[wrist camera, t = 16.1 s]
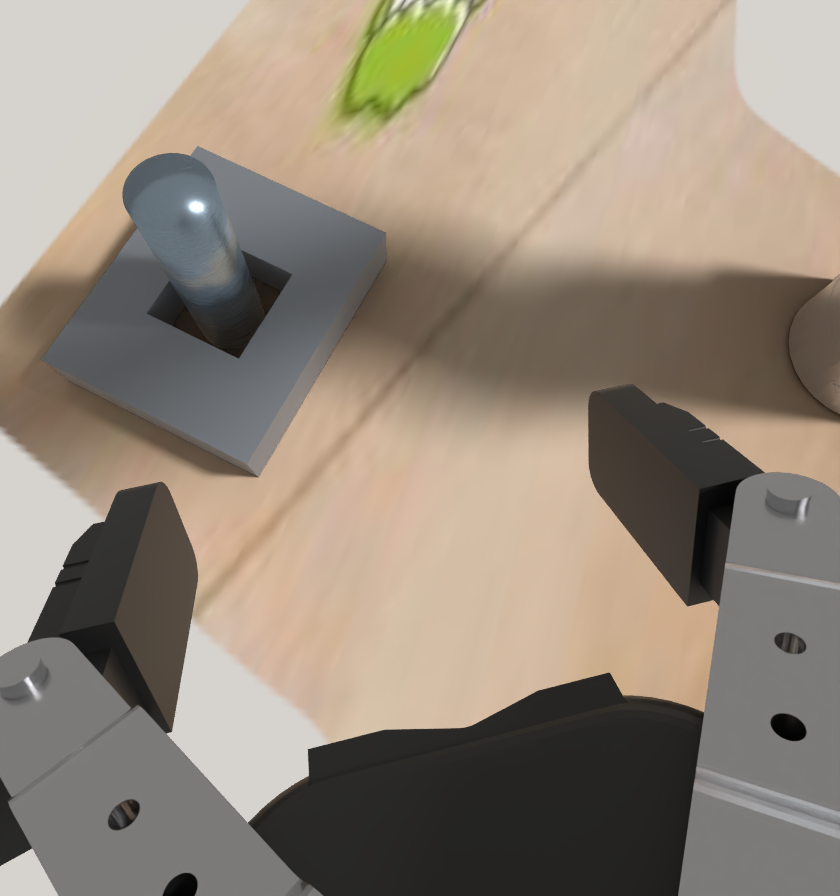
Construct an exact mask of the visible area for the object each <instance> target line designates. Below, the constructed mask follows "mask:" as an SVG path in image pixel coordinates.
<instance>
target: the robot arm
mask: <svg viewBox="0 0 840 896" xmlns="http://www.w3.org/2000/svg"><path fill="white" fill-rule="evenodd" d="M789 350H790V357H791V360H792V363H793V366H794V369H795V371H796V373H797V375H798V376H799V378H800V380H801V382H802V383H803V385H804V386H805V387H806V388H807V389H808V391H809V392H810V393H811V394H812V395H813V397H815V398H816V399H817V400H818V401H820V402H821V403H822V404H823V405H824V406H826V407H827V408H829V409H831V410H832V411H834V412H836V413H838V414H839V415H840V274H839V275H838V276H836V277H835V278H834V279H833V281H832V282H831V283H830V284H829V285H827V286H826V287H825V288H824V289H823V290H821V291H820V292H819V293H818V294H816V295H815V296H814V297H813V298H811V299H810V300H809V301H808V302H807V303H805V304H804V305H803V306H802V307H801V308H800V310H799V311H798V313H797V314H796V315H795V317H794V320H793V322H792V325H791V328H790V334H789ZM588 429H589V469H590V474H591V478H592V481H593V484H594V486H595V488H596V490H597V492H598V493H599V495H600V496H601V497H602V498H603V500H604V501H605V502H606V504H607V505H608V506H609V507H610V509H611V510H612V511H613V512H614V514H615V515H616V516H617V518H618V519H619V520H620V521H621V523H622V524H623V525H624V526H625V528H626V529H627V530H628V532H629V533H630V534H631V535H632V537H633V538H634V539H635V540H636V542H637V543H638V544H639V546H640V547H641V548H642V549H643V551H644V552H645V553H646V554H647V556H648V557H649V558H650V560H651V561H652V562H653V563H654V565H655V566H656V567H657V568H658V570H659V571H660V572H661V573H662V575H663V576H664V577H665V579H666V580H667V581H668V582H669V584H670V585H671V586H672V587H673V589H674V590H675V591H676V593H677V594H678V595H679V596H680V598H681V599H682V600H683V601H684V603H685V604H686V605H687V606H691V605H695V604H699V603H703V602H707V601H711V600H714V601H715V602H716V603H717V604H718V606H719V612H718V619H717V626H716V633H715V640H714V647H713V654H712V661H711V669H710V676H709V683H708V690H707V697H706V704H705V711H704V712H702V711H699V710H697V709H694V708H692V707H689V706H686V705H682V704H679V703H675V702H672V701H668V700H663V699H657V698H652V697H643V696H623V695H622V693H621V692H620V690H619V688H618V686H617V685H616V683H615V681H614V679H613V677H612V676H611V674H610V673H606V674H602V675H598V676H594V677H590V678H586V679H582V680H578V681H574V682H571V683H567V684H563V685H559V686H555V687H551V688H547V689H543V690H539V691H537V692H535V693H533V694H531V695H529V696H527V697H525V698H523V699H522V700H520V701H518V702H516V703H514V704H512V705H510V706H508V707H507V708H505V709H503V710H501V711H499V712H497V713H495V714H493V715H491V716H490V717H488V718H486V719H484V720H482V721H480V722H478V723H476V724H474V725H472V726H469V727H466V728H451V729H401V730H382V731H378V732H374V733H370V734H366V735H362V736H358V737H355V738H351V739H347V740H343V741H339V742H335V743H331V744H327V745H323V746H319V747H316V748H312V749H308V761H309V776H308V777H306V778H304V779H302V780H301V781H299V782H297V783H295V784H294V785H292V786H291V787H289V788H288V789H287V790H285V791H283V792H282V793H280V794H279V795H278V796H277V797H275V798H274V799H273V800H272V801H271V802H270V803H268V804H267V805H266V806H265V807H264V808H262V809H261V810H260V811H259V813H257V815H255V817H253V818H252V819H251V820H250V821H249V822H248V823H247V822H246V821H245V819H244V818H243V817H242V816H241V815H240V814H239V813H238V812H237V811H236V810H235V808H234V807H233V806H232V805H231V804H230V803H229V802H228V801H227V800H226V799H225V798H224V796H222V794H221V793H220V792H219V791H218V790H217V789H216V788H215V787H214V786H213V785H212V783H211V782H210V781H209V780H208V779H207V778H206V777H205V776H204V775H203V774H202V773H201V772H200V770H199V769H198V768H197V767H196V766H195V765H194V764H193V763H192V762H191V761H190V759H189V758H188V757H187V756H186V755H185V754H184V753H183V752H182V751H181V749H180V748H179V747H178V746H177V745H176V744H175V743H174V742H173V741H172V740H171V739H170V737H169V736H168V735H167V734H166V733H169V732H172V728H173V722H174V717H175V711H176V705H177V699H178V693H179V688H180V682H181V675H182V670H183V664H184V658H185V653H186V647H187V641H188V635H189V629H190V624H191V618H192V612H193V606H194V600H195V594H196V589H197V582H198V570H197V563H196V558H195V554H194V551H193V548H192V545H191V543H190V540H189V538H188V535H187V533H186V530H185V528H184V525H183V523H182V520H181V518H180V516H179V513H178V511H177V508H176V506H175V503H174V501H173V498H172V496H171V493H170V491H169V489H168V488H167V486H166V485H165V484H164V483H163V482H158V483H153V484H149V485H144V486H139V487H134V488H130V489H125V490H120V491H118V492H117V494H116V496H115V498H114V501H113V503H112V505H111V508H110V510H109V513H108V515H107V518H106V520H105V522H101V523H96V524H93V525H92V526H91V527H90V528H89V529H88V530H87V531H86V532H85V533H84V534H83V535H82V536H81V537H80V538H79V539H78V540H77V541H76V542H75V543H74V544H73V545H72V547H71V549H70V551H69V554H68V556H67V558H66V560H65V562H64V565H63V567H64V569H63V570H61V571H60V573H59V575H58V577H57V580H56V582H55V585H56V587H53V588H52V590H51V593H50V595H49V597H48V599H47V601H46V604H45V606H44V608H43V610H42V612H41V614H40V617H39V619H38V621H37V623H36V625H35V627H34V630H33V632H32V634H31V636H30V638H29V641H28V643H26V644H23V645H21V646H19V647H17V648H14V649H13V650H11V651H9V652H7V653H6V654H4V655H2V656H1V657H0V866H1V865H3V864H4V863H6V862H8V861H10V860H12V859H14V858H15V857H17V856H19V855H21V854H23V853H25V852H26V851H28V850H30V849H32V848H33V850H34V852H35V854H36V856H37V857H38V859H39V861H40V863H41V865H42V866H43V868H44V870H45V872H46V874H47V875H48V877H49V879H50V881H51V883H52V885H53V886H54V888H55V890H56V892H57V894H58V895H59V896H840V496H839V495H838V494H837V493H836V492H835V491H834V490H832V489H831V488H830V487H828V486H826V485H825V484H823V483H821V482H819V481H817V480H814V479H811V478H808V477H805V476H801V475H797V474H791V473H780V472H771V473H765V472H763V471H762V470H761V469H760V468H758V467H757V466H756V465H754V464H753V463H752V462H751V461H749V460H748V459H747V458H746V457H744V456H743V455H742V454H741V453H739V452H738V451H737V450H736V449H734V448H733V447H732V446H730V445H729V444H728V443H727V442H725V441H724V440H720V438H719V436H718V435H717V434H715V433H714V432H713V431H712V430H710V429H709V428H708V429H706V427H705V425H704V424H703V423H701V422H700V421H699V420H698V419H696V418H695V417H694V416H693V415H691V414H690V413H689V412H687V411H684V410H681V409H679V408H676V407H674V406H671V405H668V404H666V403H659V404H656V403H655V402H654V401H653V400H652V399H650V398H649V397H648V396H647V395H646V394H644V393H643V392H642V391H641V390H640V389H638V388H637V387H636V386H635V385H633V384H627V385H622V386H617V387H613V388H608V389H603V390H598V391H594V392H592V393H591V395H590V398H589V405H588Z"/></svg>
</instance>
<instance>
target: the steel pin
mask: <svg viewBox="0 0 840 896" xmlns="http://www.w3.org/2000/svg"><path fill="white" fill-rule="evenodd" d="M123 203H124V205H125V208H126V210H127V212H128V213H129V215H130V217H131V218H132V220H133V222H134V223H135V225H136V226H137V228H138V230H139V231H140V233H141V235H142V236H143V238H144V239H145V241H146V243H147V244H148V246H149V248H150V249H151V251H152V252H153V254H154V256H155V257H156V259H157V261H158V262H159V264H160V266H161V267H162V269H163V270H164V272H165V274H166V275H167V277H168V279H169V280H170V282H171V283H172V285H173V287H174V288H175V290H176V292H177V293H178V295H179V296H180V298H181V300H182V301H183V303H184V305H185V306H186V308H187V309H188V311H189V313H190V314H191V316H192V318H193V319H194V321H195V323H196V324H197V326H198V327H199V329H200V331H201V332H202V334H203V336H204V337H205V338H206V339H207V340H208V341H209V342H210V343H211V344H213V345H214V346H216V347H219V348H222V349H228V350H233V349H239V348H243V347H246V346H247V345H248V344H249V342H250V340H251V339H252V337H253V336H254V334H255V333H256V331H257V329H258V328H259V326H260V325H261V323H262V322H263V320H264V318H265V312H264V309H263V306H262V304H261V301H260V298H259V296H258V293H257V290H256V288H255V285H254V283H253V280H252V277H251V275H250V272H249V269H248V267H247V264H246V261H245V259H244V256H243V254H242V251H241V248H240V246H239V243H238V240H237V238H236V235H235V232H234V230H233V227H232V225H231V222H230V219H229V217H228V214H227V211H226V209H225V206H224V203H223V201H222V198H221V196H220V193H219V190H218V188H217V185H216V182H215V180H214V177H213V175H212V173H211V171H210V170H209V169H208V168H207V167H206V166H205V165H204V164H203V163H202V162H201V161H199V160H197V159H195V158H193V157H191V156H188V155H184V154H178V153H167V154H160V155H157V156H153V157H151V158H148V159H146V160H145V161H143V162H141V163H140V164H139V165H137V166H136V167H135V168H134V169H133V170H132V171H131V173H130V174H129V175H128V177H127V179H126V181H125V184H124V187H123Z"/></svg>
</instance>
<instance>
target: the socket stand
mask: <svg viewBox="0 0 840 896" xmlns="http://www.w3.org/2000/svg"><path fill="white" fill-rule="evenodd" d="M191 157H193V158H195V159H197V160H199V161H201V162H202V163H203V164H204V165H205V166H206V167H207V168H208V169H209V170H210V171H211V173H212V175H213V177H214V180H215V182H216V185H217V188H218V190H219V193H220V196H221V198H222V201H223V203H224V206H225V209H226V211H227V214H228V217H229V219H230V222H231V225H232V227H233V230H234V232H235V235H236V238H237V240H238V243H239V246H240V248H241V251H242V254H243V256H244V259H245V261H246V264H247V267H248V269H249V272H250V275H251V277H253V278H255V279H257V280H259V281H261V282H263V283H266V284H268V285H270V286H272V287H274V288H276V289H278V290H280V291H282V292H281V293H280V295H279V296H278V298H277V300H276V301H275V303H274V304H273V306H272V307H271V309H270V311H269V312H268V314H267V315H266V317H265V318H264V320H263V322H262V323H261V325H260V326H259V328H258V329H257V331H256V333H255V334H254V336H253V337H252V339H251V340H250V342H249V344H248V345H247V347H246V348H245V350H244V351H243V353H242V355H241V356H240V358H239V359H238V358H236V357H234V356H232V355H230V354H228V353H226V352H224V351H222V350H220V349H218V348H216V347H214V346H212V345H210V344H208V343H206V342H204V341H202V340H200V339H197V338H195V337H193V336H191V335H189V334H187V333H185V332H183V331H181V330H179V329H177V328H175V327H173V326H172V325H173V324H174V322H175V321H176V319H177V318H178V316H179V315H180V313H181V312H182V310H183V309H184V307H185V305H184V303H183V301H182V300H181V298H180V296H179V295H178V293H177V292H176V290H175V288H174V287H173V285H172V283H171V282H170V280H169V279H168V277H167V275H166V274H165V272H164V270H163V269H162V267H161V266H160V264H159V262H158V261H157V259H156V257H155V256H154V254H153V252H152V251H151V249H150V248H149V246H148V244H147V243H146V241H145V239H144V238H143V236H142V235H141V233H140V231H139V230H138V228H137V229H136V231H135V232H134V233H133V235H132V236H131V237H130V239H129V240H128V241H127V243H126V244H125V246H124V247H123V248H122V250H121V251H120V252H119V254H118V255H117V256H116V258H115V259H114V261H113V262H112V263H111V265H110V266H109V267H108V269H107V270H106V271H105V273H104V274H103V276H102V277H101V278H100V280H99V281H98V282H97V284H96V285H95V286H94V288H93V289H92V290H91V292H90V293H89V295H88V296H87V297H86V299H85V300H84V301H83V303H82V304H81V305H80V307H79V308H78V310H77V311H76V312H75V314H74V315H73V316H72V318H71V319H70V320H69V322H68V323H67V325H66V326H65V327H64V329H63V330H62V331H61V333H60V334H59V335H58V337H57V338H56V340H55V341H54V342H53V344H52V345H51V346H50V348H49V349H48V350H47V352H46V353H45V354H44V356H43V357H42V359H41V360H42V361H43V362H45V363H46V364H47V365H49V366H50V367H51V368H53V369H54V370H55V371H56V372H58V373H59V374H60V375H62V376H63V377H64V378H65V379H67V380H68V381H70V382H72V383H74V384H76V385H78V386H80V387H82V388H84V389H86V390H88V391H90V392H92V393H94V394H96V395H98V396H100V397H102V398H104V399H106V400H108V401H110V402H112V403H114V404H116V405H118V406H120V407H121V408H123V409H125V410H127V411H129V412H131V413H133V414H135V415H137V416H139V417H141V418H143V419H145V420H147V421H149V422H151V423H153V424H155V425H157V426H159V427H161V428H163V429H165V430H167V431H169V432H171V433H173V434H175V435H177V436H178V437H180V438H182V439H184V440H186V441H188V442H190V443H192V444H194V445H196V446H198V447H200V448H202V449H204V450H206V451H208V452H210V453H212V454H214V455H216V456H218V457H220V458H222V459H224V460H226V461H228V462H230V463H232V464H234V465H235V466H237V467H239V468H241V469H243V470H245V471H247V472H249V473H251V474H253V475H255V476H257V477H259V475H260V474H261V472H262V470H263V469H264V467H265V465H266V464H267V462H268V460H269V459H270V457H271V455H272V453H273V452H274V450H275V448H276V447H277V445H278V443H279V442H280V440H281V438H282V437H283V435H284V433H285V431H286V430H287V428H288V426H289V425H290V423H291V421H292V420H293V418H294V416H295V415H296V413H297V411H298V409H299V408H300V406H301V404H302V403H303V401H304V399H305V398H306V396H307V394H308V393H309V391H310V389H311V387H312V386H313V384H314V382H315V381H316V379H317V377H318V376H319V374H320V372H321V371H322V369H323V367H324V365H325V364H326V362H327V360H328V359H329V357H330V355H331V354H332V352H333V350H334V349H335V347H336V345H337V343H338V342H339V340H340V338H341V337H342V335H343V333H344V332H345V330H346V328H347V327H348V325H349V323H350V321H351V320H352V318H353V316H354V315H355V313H356V311H357V310H358V308H359V306H360V305H361V303H362V301H363V299H364V298H365V296H366V294H367V293H368V291H369V289H370V288H371V286H372V284H373V283H374V281H375V279H376V277H377V276H378V274H379V272H380V271H381V269H382V267H383V266H384V264H385V262H386V233H385V232H383V231H381V230H379V229H376V228H374V227H372V226H370V225H368V224H366V223H363V222H361V221H359V220H357V219H355V218H353V217H350V216H348V215H346V214H344V213H342V212H340V211H337V210H335V209H333V208H331V207H329V206H327V205H324V204H322V203H320V202H318V201H316V200H313V199H311V198H309V197H307V196H305V195H303V194H300V193H298V192H296V191H294V190H292V189H290V188H287V187H285V186H283V185H281V184H279V183H277V182H274V181H272V180H270V179H268V178H266V177H264V176H261V175H259V174H257V173H255V172H253V171H251V170H248V169H246V168H244V167H242V166H240V165H238V164H235V163H233V162H231V161H229V160H227V159H225V158H222V157H220V156H218V155H216V154H214V153H212V152H209V151H207V150H205V149H203V148H201V147H199V146H197V148H196V149H195V150H194V152H193V153H192V154H191Z"/></svg>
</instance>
